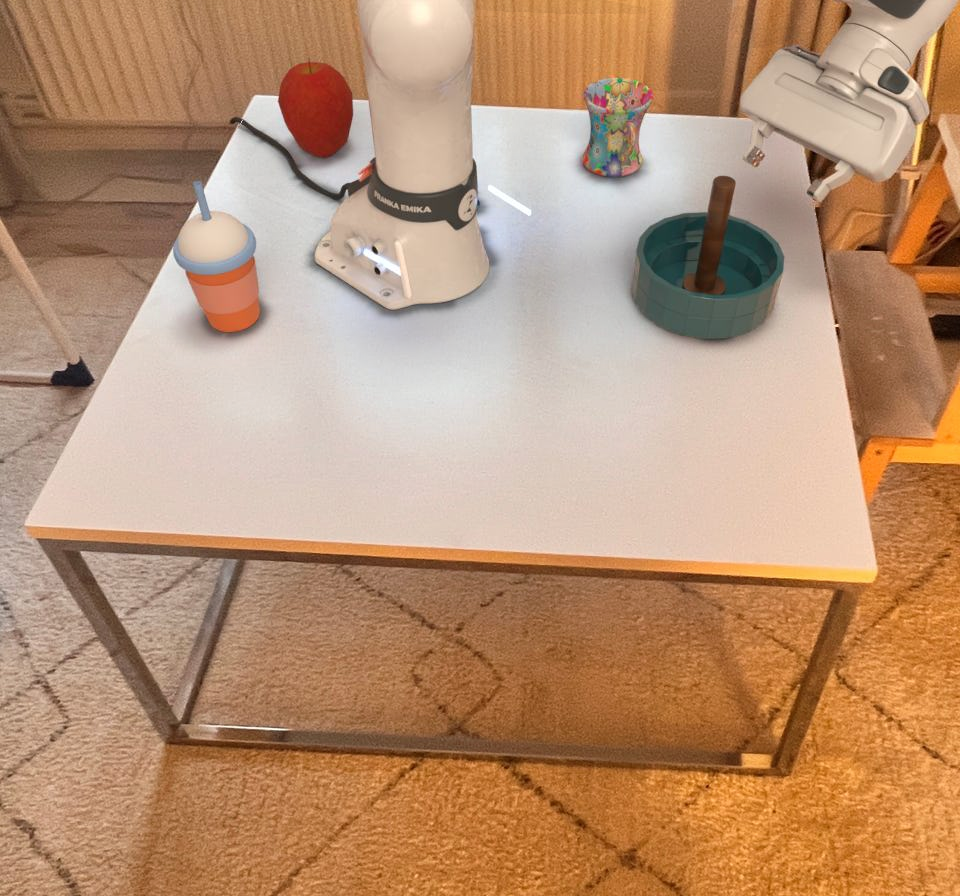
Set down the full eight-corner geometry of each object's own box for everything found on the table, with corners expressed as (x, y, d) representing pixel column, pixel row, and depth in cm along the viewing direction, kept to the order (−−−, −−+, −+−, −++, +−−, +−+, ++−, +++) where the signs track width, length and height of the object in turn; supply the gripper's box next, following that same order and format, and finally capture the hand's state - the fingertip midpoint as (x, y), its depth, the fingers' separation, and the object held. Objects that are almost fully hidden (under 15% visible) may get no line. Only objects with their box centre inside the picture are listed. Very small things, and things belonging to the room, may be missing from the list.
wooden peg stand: (674, 296, 110) (693, 185, 99) (692, 274, 113) (712, 164, 102) (714, 310, 108) (737, 199, 97) (730, 288, 111) (755, 177, 100)
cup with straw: (256, 345, 107) (221, 211, 94) (183, 336, 109) (138, 203, 95) (283, 296, 113) (253, 164, 100) (213, 288, 115) (174, 157, 101)
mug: (571, 152, 134) (575, 82, 126) (632, 144, 135) (640, 73, 127) (595, 197, 126) (601, 125, 118) (660, 188, 127) (670, 116, 119)
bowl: (607, 312, 110) (611, 268, 105) (667, 241, 119) (674, 197, 114) (739, 362, 103) (750, 317, 99) (792, 283, 113) (805, 238, 108)
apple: (370, 140, 138) (359, 47, 127) (338, 174, 131) (324, 79, 121) (309, 128, 140) (294, 36, 130) (275, 161, 134) (256, 67, 124)
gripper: (776, 25, 106) (703, 132, 109) (931, 92, 95) (844, 208, 98) (793, 53, 111) (723, 154, 114) (942, 118, 100) (859, 229, 103)
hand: (780, 180), depth 106 cm, fingers open, 8 cm apart
